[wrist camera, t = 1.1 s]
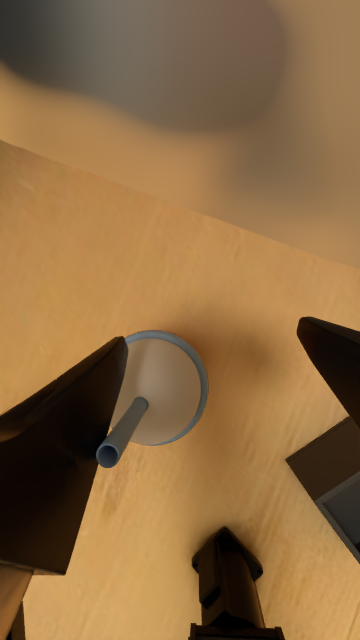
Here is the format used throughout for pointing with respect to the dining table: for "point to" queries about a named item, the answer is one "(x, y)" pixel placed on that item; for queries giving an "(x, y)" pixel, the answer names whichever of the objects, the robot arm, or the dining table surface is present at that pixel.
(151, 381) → the cup with straw
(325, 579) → the dining table surface
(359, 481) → the bin
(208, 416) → the dining table surface
